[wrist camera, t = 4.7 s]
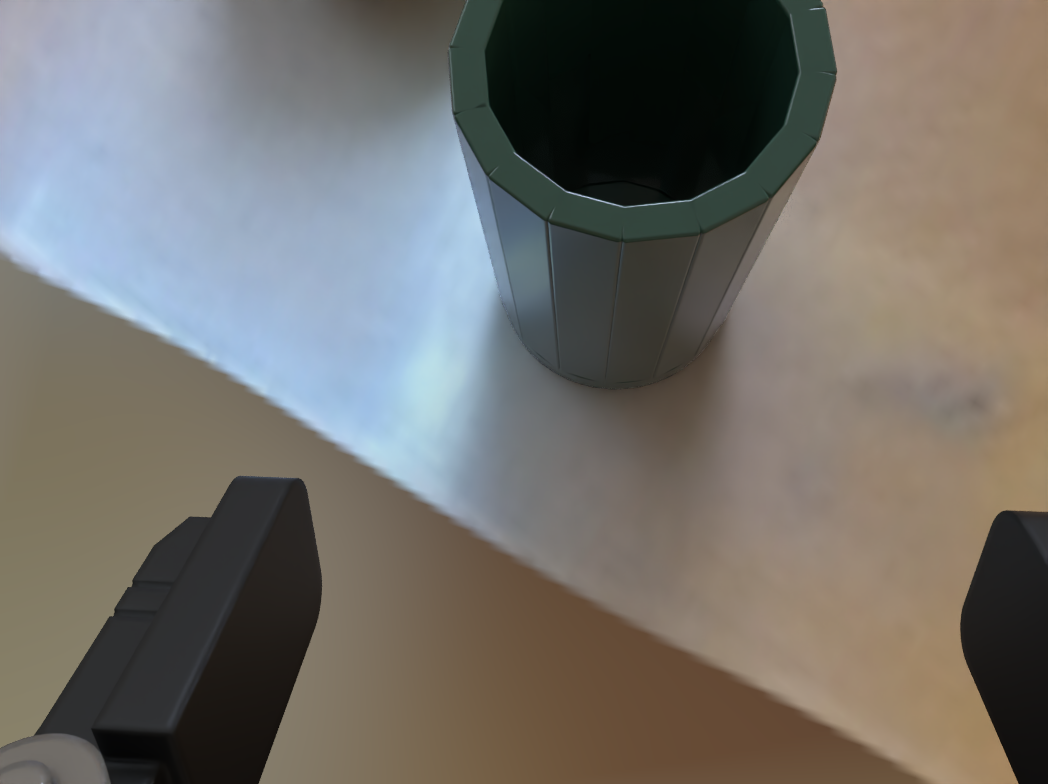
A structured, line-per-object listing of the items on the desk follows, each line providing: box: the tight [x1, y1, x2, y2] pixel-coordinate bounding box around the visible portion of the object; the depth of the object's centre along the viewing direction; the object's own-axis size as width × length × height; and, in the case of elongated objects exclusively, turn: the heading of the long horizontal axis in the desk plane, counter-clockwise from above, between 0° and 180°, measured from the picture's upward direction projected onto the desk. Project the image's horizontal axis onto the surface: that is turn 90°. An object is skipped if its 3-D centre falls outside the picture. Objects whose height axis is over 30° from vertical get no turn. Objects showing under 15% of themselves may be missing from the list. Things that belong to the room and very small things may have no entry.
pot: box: [448, 0, 837, 389], centre depth 19 cm, size 6×6×10 cm
